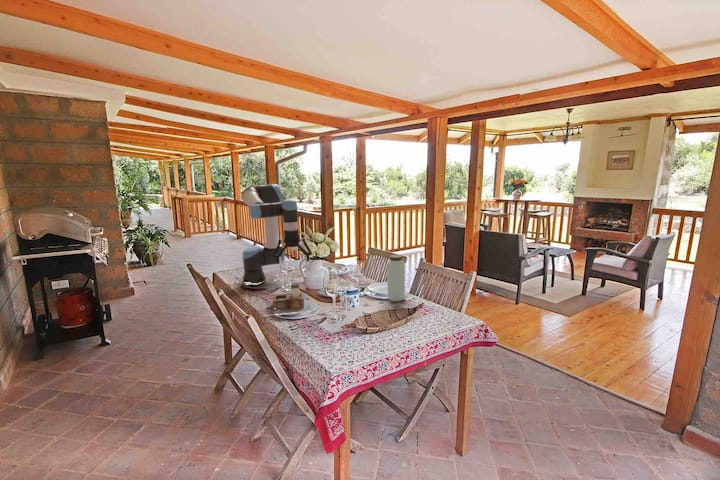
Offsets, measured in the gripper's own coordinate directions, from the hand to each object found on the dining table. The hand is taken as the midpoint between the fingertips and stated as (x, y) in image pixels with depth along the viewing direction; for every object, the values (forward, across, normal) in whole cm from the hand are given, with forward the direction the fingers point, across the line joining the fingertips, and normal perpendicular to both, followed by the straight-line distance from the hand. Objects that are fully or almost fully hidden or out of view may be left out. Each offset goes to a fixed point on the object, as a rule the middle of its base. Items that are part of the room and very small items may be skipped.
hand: (293, 268), depth 190 cm
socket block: (+22, -4, -1) cm, 22 cm away
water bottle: (+21, +56, -3) cm, 60 cm away
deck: (+22, +1, +10) cm, 24 cm away
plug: (+20, 0, -1) cm, 21 cm away
